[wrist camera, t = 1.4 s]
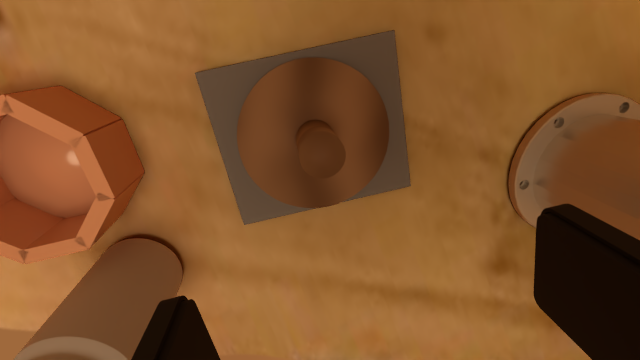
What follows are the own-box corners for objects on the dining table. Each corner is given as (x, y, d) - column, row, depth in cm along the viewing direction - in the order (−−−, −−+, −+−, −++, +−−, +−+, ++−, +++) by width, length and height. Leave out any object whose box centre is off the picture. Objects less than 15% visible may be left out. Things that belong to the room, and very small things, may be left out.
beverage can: (89, 246, 27) (-43, 383, 16) (165, 223, 27) (88, 343, 16) (126, 306, 29) (35, 461, 18) (197, 284, 29) (149, 426, 18)
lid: (374, 42, 23) (401, 39, 18) (392, 184, 28) (419, 215, 22) (219, 75, 23) (202, 82, 18) (260, 215, 27) (257, 253, 22)
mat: (391, 30, 24) (394, 30, 23) (408, 183, 28) (410, 186, 28) (196, 72, 23) (194, 73, 23) (244, 221, 28) (244, 224, 27)
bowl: (104, 76, 23) (60, 82, 18) (159, 206, 26) (134, 238, 22) (-46, 108, 22) (-130, 123, 18) (31, 235, 26) (-22, 275, 21)
